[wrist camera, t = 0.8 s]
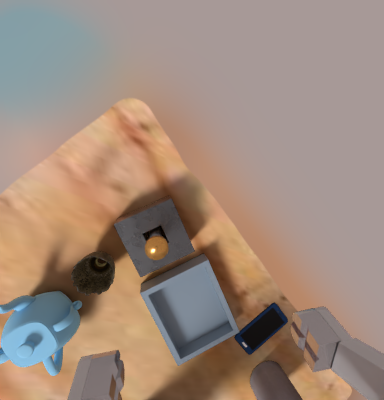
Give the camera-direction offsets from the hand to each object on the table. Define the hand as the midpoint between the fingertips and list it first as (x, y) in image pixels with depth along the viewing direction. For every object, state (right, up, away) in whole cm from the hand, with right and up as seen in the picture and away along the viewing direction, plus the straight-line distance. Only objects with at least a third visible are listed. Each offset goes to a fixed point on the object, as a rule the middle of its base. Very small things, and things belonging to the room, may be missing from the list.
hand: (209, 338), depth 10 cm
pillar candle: (+19, -42, +50) cm, 68 cm away
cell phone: (+17, -27, +48) cm, 58 cm away
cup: (-20, -7, +38) cm, 44 cm away
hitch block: (-9, -1, +39) cm, 40 cm away
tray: (-1, -19, +43) cm, 47 cm away
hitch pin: (-9, -1, +39) cm, 40 cm away
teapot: (-31, -17, +37) cm, 52 cm away
